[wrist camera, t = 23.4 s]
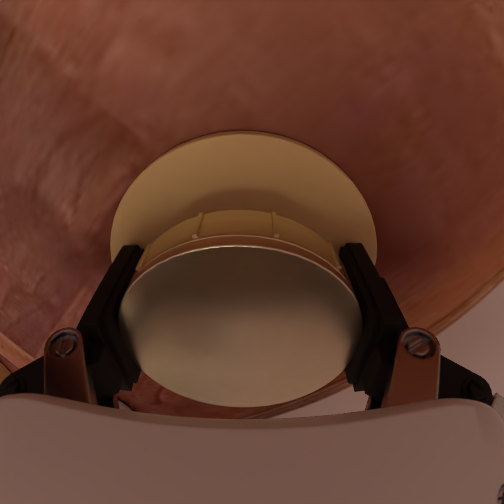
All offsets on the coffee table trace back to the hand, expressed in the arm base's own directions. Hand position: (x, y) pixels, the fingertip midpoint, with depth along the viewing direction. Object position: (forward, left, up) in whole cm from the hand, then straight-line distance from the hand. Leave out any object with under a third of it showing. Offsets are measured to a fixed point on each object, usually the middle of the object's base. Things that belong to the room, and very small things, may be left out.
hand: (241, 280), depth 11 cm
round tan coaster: (0, 0, -1) cm, 1 cm away
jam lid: (0, 0, +3) cm, 3 cm away
